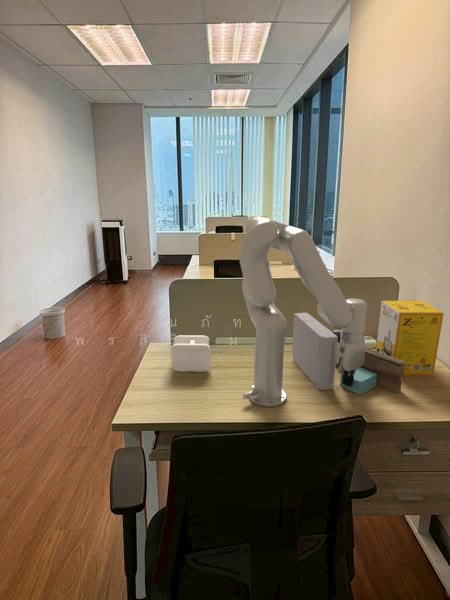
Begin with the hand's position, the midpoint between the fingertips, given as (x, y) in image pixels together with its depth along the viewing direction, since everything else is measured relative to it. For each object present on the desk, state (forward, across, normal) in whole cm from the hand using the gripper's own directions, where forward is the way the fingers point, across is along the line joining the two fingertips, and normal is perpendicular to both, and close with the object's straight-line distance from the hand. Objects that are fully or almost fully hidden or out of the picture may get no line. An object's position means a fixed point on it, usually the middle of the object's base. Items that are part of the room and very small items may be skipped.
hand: (347, 384), depth 135 cm
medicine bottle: (+3, +19, +19) cm, 27 cm away
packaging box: (+3, +35, -1) cm, 35 cm away
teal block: (+3, +7, 0) cm, 8 cm away
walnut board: (+3, +14, 0) cm, 15 cm away
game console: (+3, +1, +18) cm, 18 cm away
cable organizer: (+3, -33, +49) cm, 59 cm away
